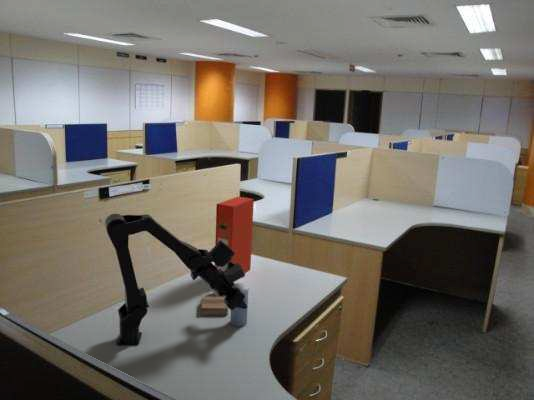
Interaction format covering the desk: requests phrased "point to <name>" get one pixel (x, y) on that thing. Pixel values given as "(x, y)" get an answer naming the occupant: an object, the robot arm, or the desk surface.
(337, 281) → the desk surface
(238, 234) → the file binder
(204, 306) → the base slab
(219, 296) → the die
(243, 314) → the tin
